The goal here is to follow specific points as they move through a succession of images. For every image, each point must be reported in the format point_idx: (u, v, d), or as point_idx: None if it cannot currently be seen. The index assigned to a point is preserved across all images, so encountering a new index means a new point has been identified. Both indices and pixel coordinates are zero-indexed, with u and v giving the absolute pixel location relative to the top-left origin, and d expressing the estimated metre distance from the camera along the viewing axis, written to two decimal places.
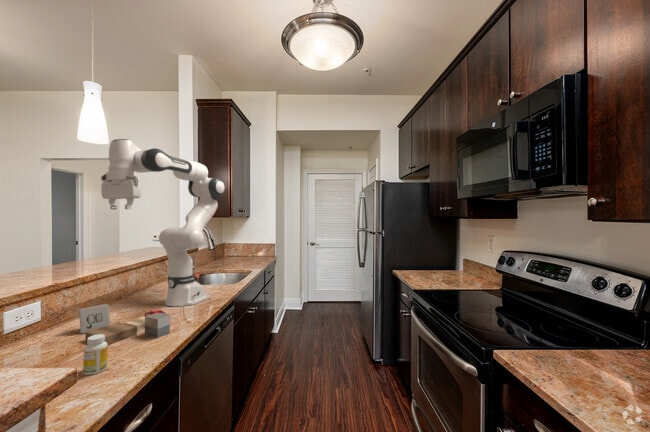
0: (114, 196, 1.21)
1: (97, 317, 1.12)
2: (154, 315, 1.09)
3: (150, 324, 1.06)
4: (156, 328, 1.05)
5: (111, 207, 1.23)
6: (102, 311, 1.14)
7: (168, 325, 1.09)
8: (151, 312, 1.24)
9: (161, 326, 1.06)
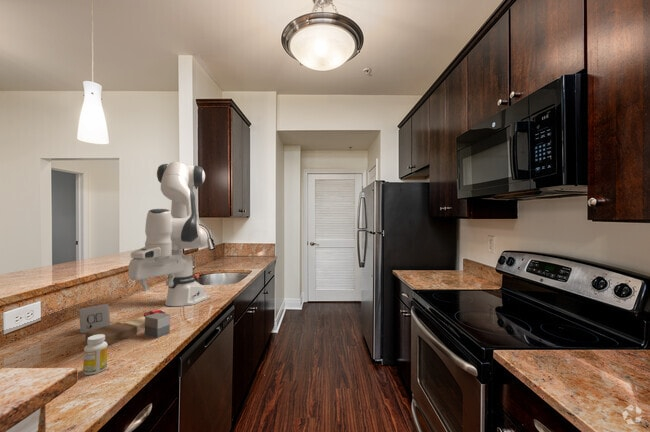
0: (158, 274, 1.07)
1: (97, 317, 1.12)
2: (154, 315, 1.09)
3: (150, 324, 1.06)
4: (156, 328, 1.05)
5: (147, 288, 1.04)
6: (102, 311, 1.14)
7: (168, 325, 1.09)
8: (151, 312, 1.23)
9: (161, 326, 1.06)
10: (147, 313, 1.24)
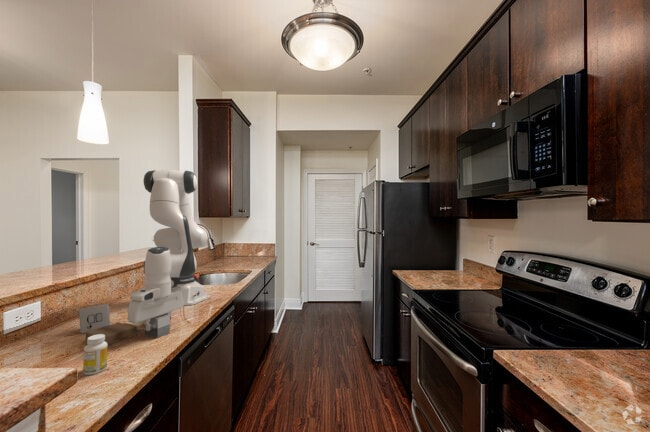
0: (158, 314, 1.07)
1: (97, 317, 1.12)
2: None
3: (150, 324, 1.06)
4: (156, 328, 1.05)
5: (150, 328, 1.05)
6: (102, 311, 1.14)
7: (168, 325, 1.09)
8: None
9: (161, 326, 1.06)
10: None
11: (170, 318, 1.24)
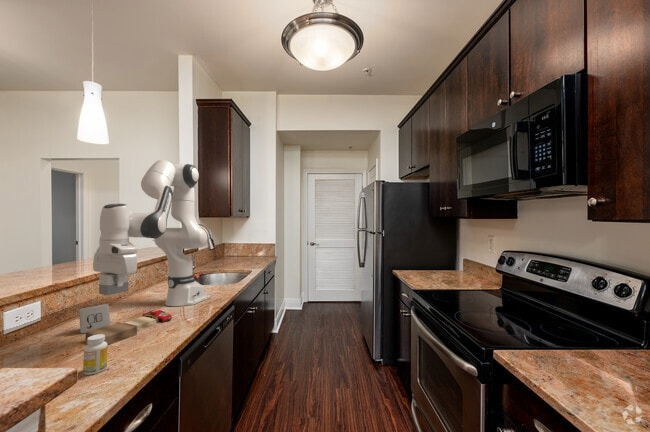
0: None
1: (97, 317, 1.12)
2: (109, 274, 1.04)
3: None
4: (126, 281, 1.07)
5: None
6: (102, 311, 1.14)
7: None
8: (151, 312, 1.23)
9: None
10: (147, 313, 1.23)
11: (171, 318, 1.24)
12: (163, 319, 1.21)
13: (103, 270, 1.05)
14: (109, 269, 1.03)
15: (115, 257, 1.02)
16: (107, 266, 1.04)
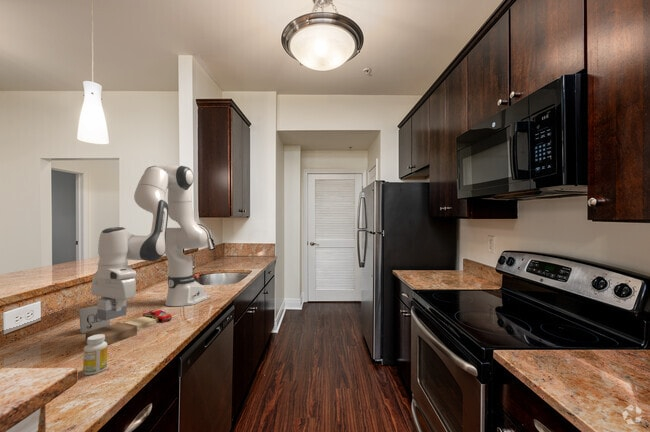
0: None
1: None
2: (107, 298, 1.04)
3: (115, 305, 1.04)
4: (124, 305, 1.07)
5: None
6: None
7: None
8: (151, 312, 1.23)
9: None
10: (147, 313, 1.24)
11: (171, 318, 1.24)
12: (163, 319, 1.21)
13: (101, 294, 1.05)
14: (108, 293, 1.03)
15: (113, 282, 1.01)
16: (105, 290, 1.04)
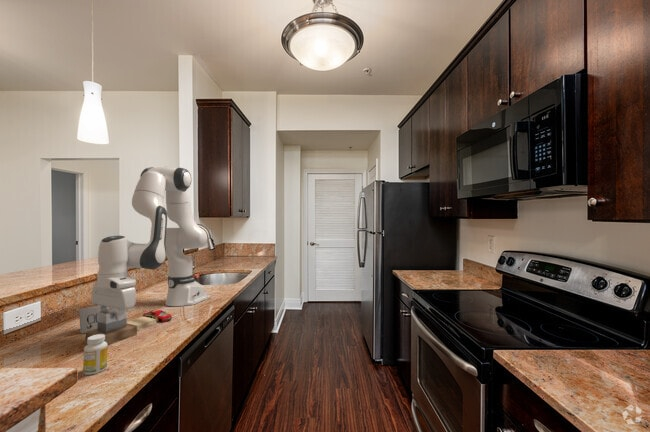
0: None
1: (97, 317, 1.12)
2: (108, 311, 1.04)
3: (115, 318, 1.04)
4: (124, 318, 1.07)
5: None
6: None
7: None
8: (151, 312, 1.23)
9: None
10: (147, 313, 1.24)
11: (171, 318, 1.24)
12: (163, 319, 1.21)
13: (101, 303, 1.05)
14: (108, 302, 1.03)
15: (113, 291, 1.01)
16: (105, 299, 1.04)
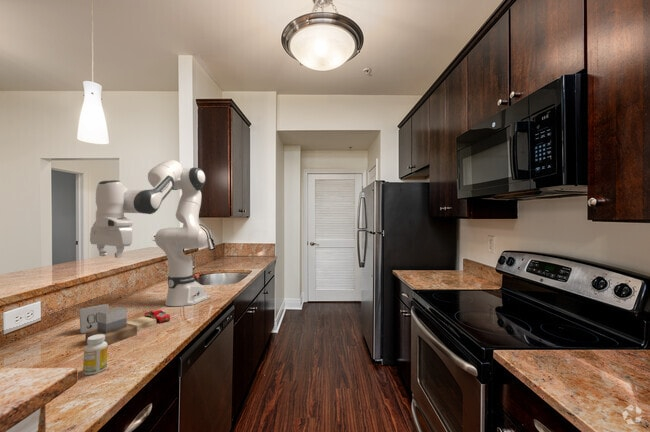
0: None
1: (97, 317, 1.12)
2: (108, 311, 1.04)
3: (115, 318, 1.04)
4: (124, 318, 1.07)
5: None
6: None
7: None
8: (151, 312, 1.24)
9: None
10: (147, 313, 1.24)
11: (169, 319, 1.23)
12: (160, 320, 1.20)
13: (100, 242, 1.12)
14: (106, 241, 1.10)
15: (111, 230, 1.08)
16: (104, 238, 1.11)
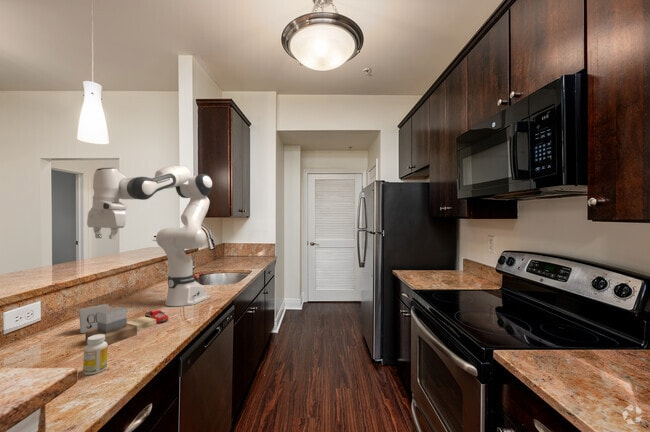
0: None
1: (97, 317, 1.12)
2: (108, 311, 1.04)
3: (115, 318, 1.04)
4: (124, 318, 1.07)
5: None
6: None
7: None
8: (150, 312, 1.24)
9: None
10: (147, 313, 1.24)
11: (166, 319, 1.22)
12: (157, 320, 1.19)
13: (96, 225, 1.20)
14: (101, 223, 1.18)
15: (106, 213, 1.17)
16: (99, 221, 1.19)
